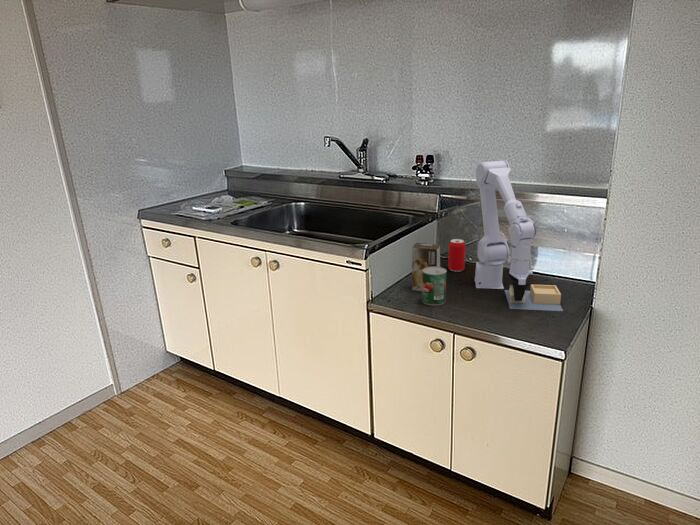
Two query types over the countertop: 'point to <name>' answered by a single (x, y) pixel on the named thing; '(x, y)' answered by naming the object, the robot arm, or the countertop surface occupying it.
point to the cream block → (511, 296)
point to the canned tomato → (434, 286)
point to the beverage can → (456, 255)
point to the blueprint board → (530, 304)
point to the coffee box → (423, 261)
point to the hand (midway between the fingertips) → (517, 297)
